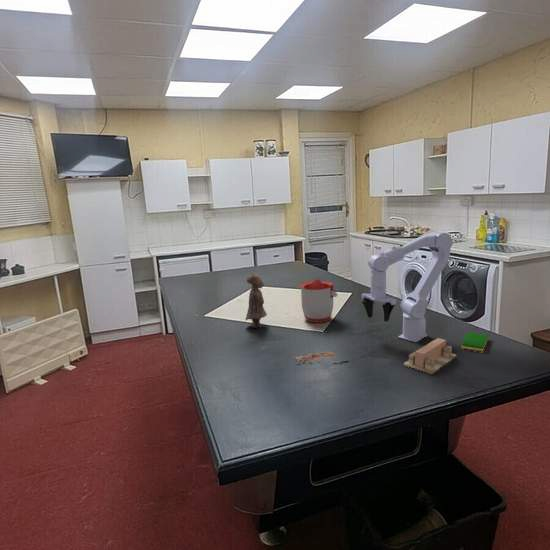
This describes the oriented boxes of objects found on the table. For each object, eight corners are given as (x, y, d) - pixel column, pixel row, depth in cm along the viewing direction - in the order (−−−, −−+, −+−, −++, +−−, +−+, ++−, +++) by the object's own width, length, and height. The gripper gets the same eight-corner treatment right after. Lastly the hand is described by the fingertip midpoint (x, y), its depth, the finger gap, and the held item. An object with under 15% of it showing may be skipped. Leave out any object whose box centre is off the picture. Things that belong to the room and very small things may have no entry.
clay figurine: (268, 329, 175) (265, 276, 170) (246, 332, 174) (242, 277, 169) (265, 320, 188) (262, 270, 182) (245, 322, 187) (241, 272, 181)
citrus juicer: (334, 325, 176) (333, 283, 171) (297, 323, 181) (296, 282, 177) (340, 315, 190) (339, 275, 186) (306, 313, 196) (304, 274, 192)
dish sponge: (461, 350, 145) (461, 344, 144) (467, 337, 156) (468, 332, 155) (482, 353, 141) (483, 347, 140) (487, 340, 152) (488, 335, 151)
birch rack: (429, 349, 145) (429, 339, 144) (456, 357, 138) (456, 346, 137) (403, 365, 134) (403, 354, 133) (431, 374, 126) (431, 363, 125)
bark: (334, 349, 150) (334, 348, 150) (350, 361, 140) (350, 359, 139) (282, 361, 143) (282, 360, 143) (294, 374, 132) (294, 373, 132)
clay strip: (437, 350, 142) (437, 338, 140) (445, 353, 139) (446, 340, 138) (414, 365, 131) (415, 351, 130) (423, 367, 129) (423, 354, 128)
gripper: (356, 285, 154) (357, 317, 157) (388, 290, 143) (388, 325, 146) (367, 281, 158) (367, 313, 161) (399, 286, 148) (398, 320, 151)
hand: (378, 318), depth 154 cm, fingers open, 7 cm apart
